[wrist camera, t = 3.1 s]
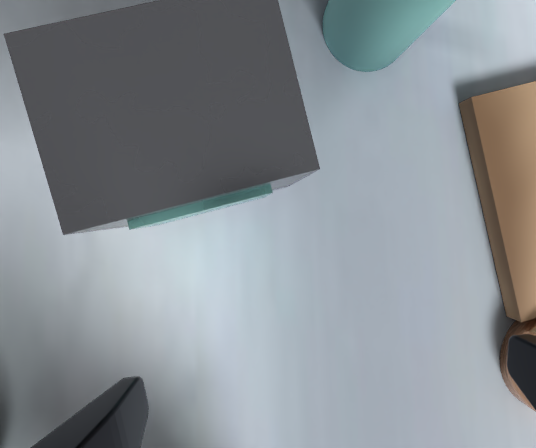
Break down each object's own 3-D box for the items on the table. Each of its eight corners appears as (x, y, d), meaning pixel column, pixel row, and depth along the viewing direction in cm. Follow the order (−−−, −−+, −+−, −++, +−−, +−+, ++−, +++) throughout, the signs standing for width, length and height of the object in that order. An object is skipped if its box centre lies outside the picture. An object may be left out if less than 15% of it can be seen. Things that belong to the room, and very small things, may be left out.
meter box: (137, 231, 17) (66, 244, 10) (98, 92, 17) (-5, 6, 10) (290, 191, 18) (322, 178, 11) (255, 56, 17) (265, -51, 10)
